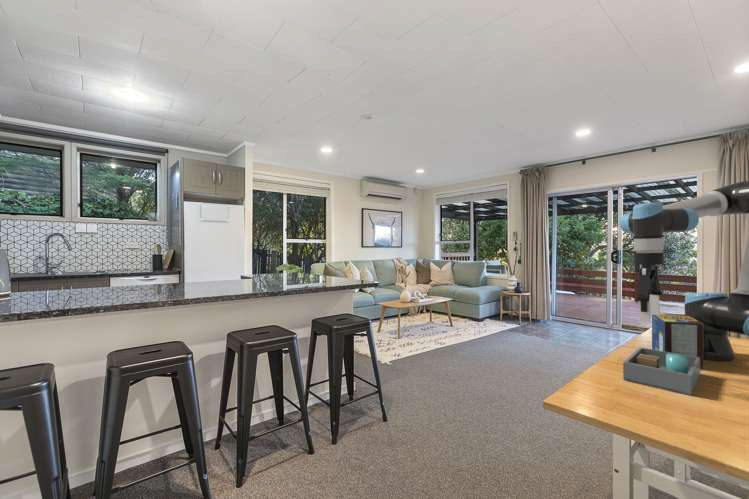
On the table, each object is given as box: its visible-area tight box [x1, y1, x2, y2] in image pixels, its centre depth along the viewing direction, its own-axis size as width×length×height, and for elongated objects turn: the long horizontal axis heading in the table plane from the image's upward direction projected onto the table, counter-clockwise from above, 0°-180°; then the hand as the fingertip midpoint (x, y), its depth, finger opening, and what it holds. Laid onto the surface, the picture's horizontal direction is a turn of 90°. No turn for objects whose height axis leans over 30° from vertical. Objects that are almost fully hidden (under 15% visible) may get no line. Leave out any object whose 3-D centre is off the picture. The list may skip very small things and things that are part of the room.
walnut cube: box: [637, 354, 660, 368], centre depth 113 cm, size 5×5×5 cm
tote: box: [622, 347, 701, 397], centre depth 110 cm, size 22×16×6 cm
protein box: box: [651, 312, 704, 370], centre depth 125 cm, size 10×15×16 cm
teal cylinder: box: [666, 353, 688, 374], centre depth 107 cm, size 5×5×7 cm
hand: (649, 318), depth 113 cm, fingers open, 13 cm apart
